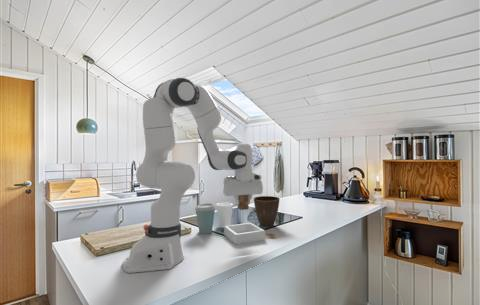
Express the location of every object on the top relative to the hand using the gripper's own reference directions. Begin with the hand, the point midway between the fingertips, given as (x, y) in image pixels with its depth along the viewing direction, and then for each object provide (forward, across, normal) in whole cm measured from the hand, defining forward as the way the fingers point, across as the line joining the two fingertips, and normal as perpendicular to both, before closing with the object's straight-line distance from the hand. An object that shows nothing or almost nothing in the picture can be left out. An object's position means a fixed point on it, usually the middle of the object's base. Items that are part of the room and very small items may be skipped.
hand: (243, 204), depth 127 cm
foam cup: (+17, -1, +22) cm, 28 cm away
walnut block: (+2, 0, 0) cm, 2 cm away
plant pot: (+17, +22, +14) cm, 31 cm away
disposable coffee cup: (+17, -14, +16) cm, 28 cm away
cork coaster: (+17, +14, -4) cm, 22 cm away
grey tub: (+17, +1, 0) cm, 17 cm away
